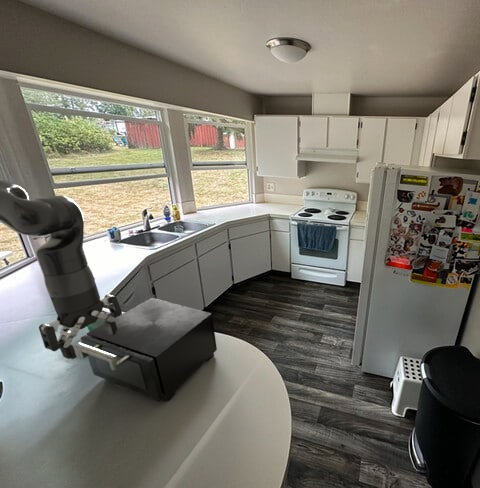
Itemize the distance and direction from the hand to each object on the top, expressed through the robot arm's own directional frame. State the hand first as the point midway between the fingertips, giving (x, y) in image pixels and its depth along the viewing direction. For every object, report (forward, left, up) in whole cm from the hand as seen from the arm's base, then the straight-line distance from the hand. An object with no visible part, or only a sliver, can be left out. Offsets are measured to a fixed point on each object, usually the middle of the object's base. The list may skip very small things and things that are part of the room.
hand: (93, 345), depth 61 cm
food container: (-26, +28, -21) cm, 44 cm away
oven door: (+1, +2, -18) cm, 18 cm away
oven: (+5, +14, -21) cm, 26 cm away
